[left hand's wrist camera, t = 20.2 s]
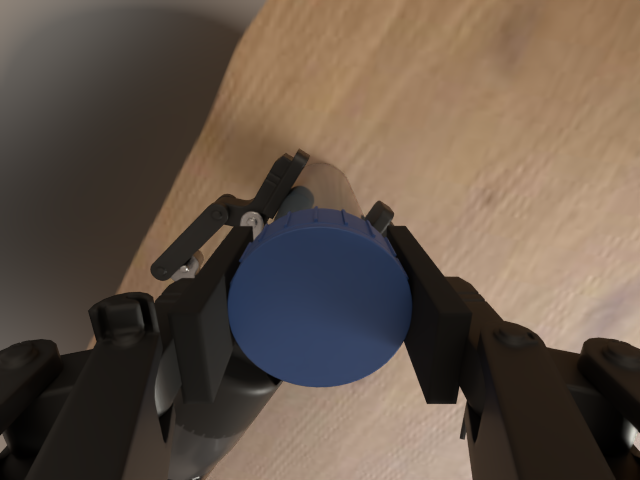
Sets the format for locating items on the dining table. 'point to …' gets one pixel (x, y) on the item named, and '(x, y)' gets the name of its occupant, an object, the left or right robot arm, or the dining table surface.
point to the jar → (320, 192)
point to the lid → (319, 299)
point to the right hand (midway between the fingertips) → (345, 181)
